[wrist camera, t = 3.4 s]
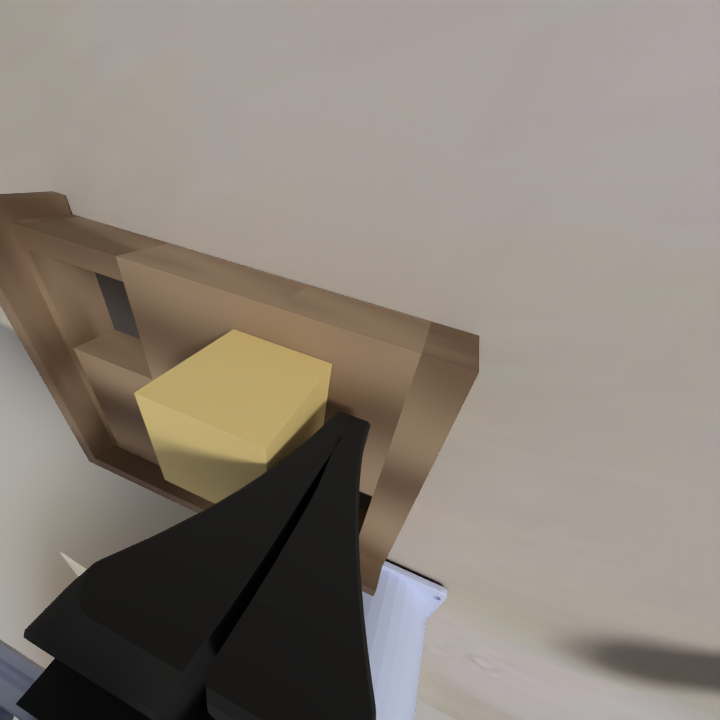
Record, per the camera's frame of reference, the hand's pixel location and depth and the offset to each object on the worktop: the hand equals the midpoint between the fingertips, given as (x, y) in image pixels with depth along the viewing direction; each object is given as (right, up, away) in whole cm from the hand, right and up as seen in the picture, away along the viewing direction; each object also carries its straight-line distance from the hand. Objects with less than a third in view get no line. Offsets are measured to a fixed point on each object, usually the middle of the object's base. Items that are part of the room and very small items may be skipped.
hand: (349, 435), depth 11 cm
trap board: (-5, +1, +6) cm, 8 cm away
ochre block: (-3, +2, +1) cm, 3 cm away
